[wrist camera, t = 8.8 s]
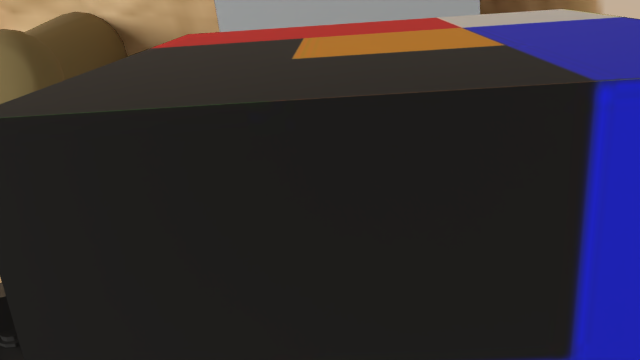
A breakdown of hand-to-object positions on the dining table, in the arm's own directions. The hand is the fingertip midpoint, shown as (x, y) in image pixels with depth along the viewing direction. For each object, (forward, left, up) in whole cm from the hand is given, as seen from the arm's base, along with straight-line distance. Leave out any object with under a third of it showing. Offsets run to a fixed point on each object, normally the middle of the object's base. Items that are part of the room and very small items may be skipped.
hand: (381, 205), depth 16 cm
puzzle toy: (0, 0, -1) cm, 1 cm away
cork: (+3, +18, -24) cm, 31 cm away
